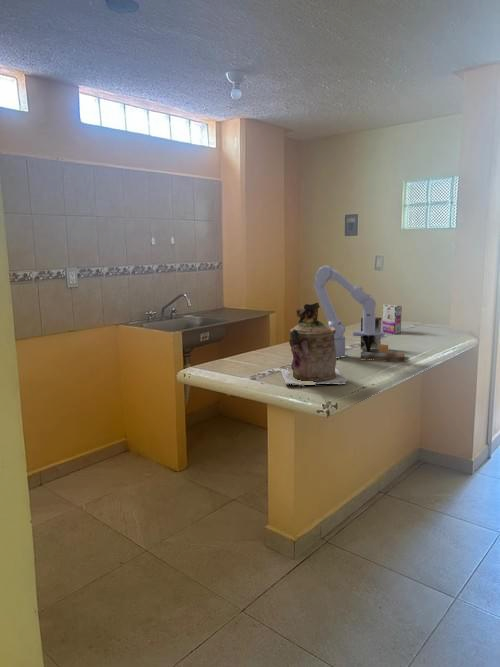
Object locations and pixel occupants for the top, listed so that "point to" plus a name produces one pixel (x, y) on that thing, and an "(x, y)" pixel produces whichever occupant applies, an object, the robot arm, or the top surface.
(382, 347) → the block
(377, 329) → the coffee box
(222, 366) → the top surface
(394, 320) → the candy bar box
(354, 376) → the top surface
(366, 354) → the trap channel
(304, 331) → the cookie jar
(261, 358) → the top surface
